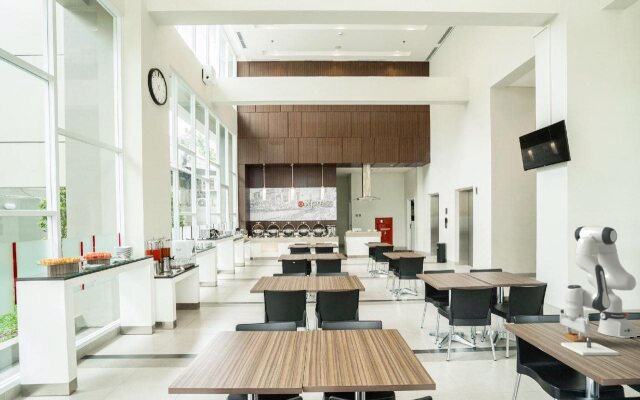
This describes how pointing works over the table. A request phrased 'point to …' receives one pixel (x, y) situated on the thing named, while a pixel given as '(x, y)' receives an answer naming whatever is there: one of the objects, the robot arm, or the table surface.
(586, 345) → the plate
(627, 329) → the robot arm
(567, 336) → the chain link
